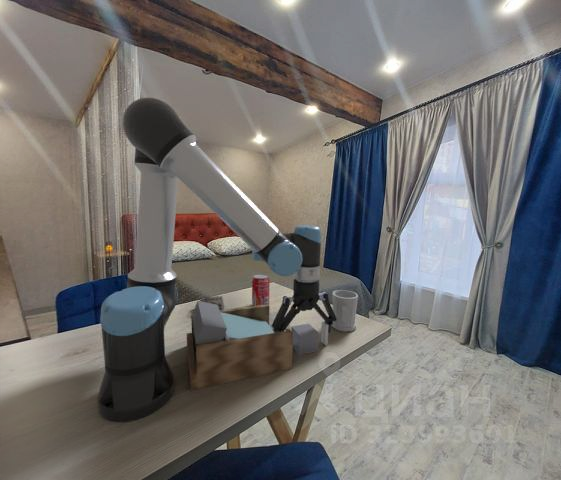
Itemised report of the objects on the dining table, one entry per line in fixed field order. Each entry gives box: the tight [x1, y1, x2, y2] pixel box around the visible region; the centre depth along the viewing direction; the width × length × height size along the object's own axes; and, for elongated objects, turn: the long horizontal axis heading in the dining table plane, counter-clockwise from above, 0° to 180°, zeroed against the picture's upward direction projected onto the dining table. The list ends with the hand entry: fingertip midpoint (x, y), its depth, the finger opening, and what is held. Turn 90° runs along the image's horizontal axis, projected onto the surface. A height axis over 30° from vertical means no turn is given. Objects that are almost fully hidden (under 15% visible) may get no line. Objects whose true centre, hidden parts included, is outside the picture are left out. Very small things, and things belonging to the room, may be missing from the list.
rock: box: [198, 295, 225, 310], centre depth 108 cm, size 13×9×6 cm, turn 39°
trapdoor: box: [192, 300, 275, 345], centre depth 76 cm, size 23×17×5 cm
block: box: [290, 323, 319, 356], centre depth 82 cm, size 6×6×6 cm
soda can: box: [251, 273, 270, 306], centre depth 113 cm, size 7×7×13 cm
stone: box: [269, 311, 292, 333], centre depth 96 cm, size 15×11×3 cm
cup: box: [330, 289, 359, 333], centre depth 95 cm, size 10×9×12 cm
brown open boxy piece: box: [186, 304, 293, 391], centre depth 76 cm, size 26×20×10 cm
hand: (304, 347), depth 82 cm, fingers open, 13 cm apart
